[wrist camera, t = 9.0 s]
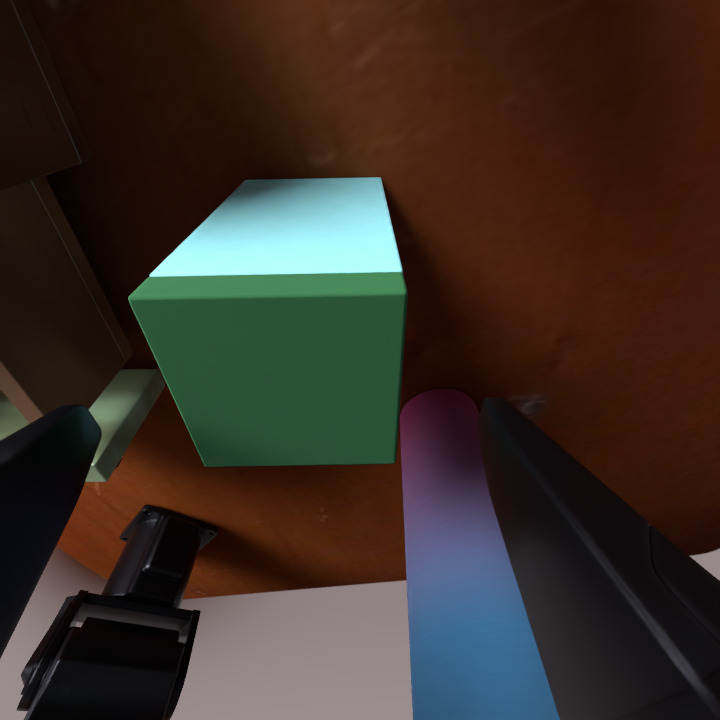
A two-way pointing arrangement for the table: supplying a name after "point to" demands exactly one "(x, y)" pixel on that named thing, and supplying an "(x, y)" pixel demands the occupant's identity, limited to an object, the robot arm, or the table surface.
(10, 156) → the cabinet
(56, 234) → the drawer
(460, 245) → the table surface
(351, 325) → the sponge
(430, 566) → the cup
